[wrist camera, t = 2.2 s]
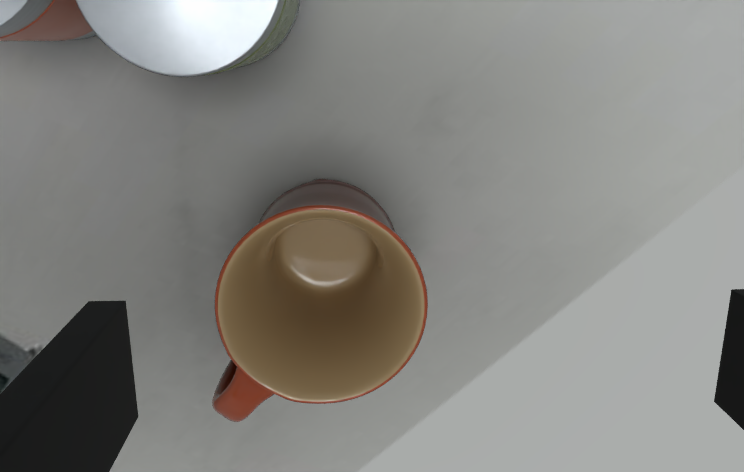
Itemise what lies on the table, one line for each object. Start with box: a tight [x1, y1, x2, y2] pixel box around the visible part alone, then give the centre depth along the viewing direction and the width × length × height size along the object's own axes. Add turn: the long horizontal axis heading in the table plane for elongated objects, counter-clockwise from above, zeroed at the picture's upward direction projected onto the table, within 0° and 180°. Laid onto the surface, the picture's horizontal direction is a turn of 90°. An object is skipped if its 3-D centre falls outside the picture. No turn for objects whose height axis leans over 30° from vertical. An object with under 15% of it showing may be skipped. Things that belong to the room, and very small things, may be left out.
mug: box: [212, 179, 428, 422], centre depth 33 cm, size 12×9×10 cm
